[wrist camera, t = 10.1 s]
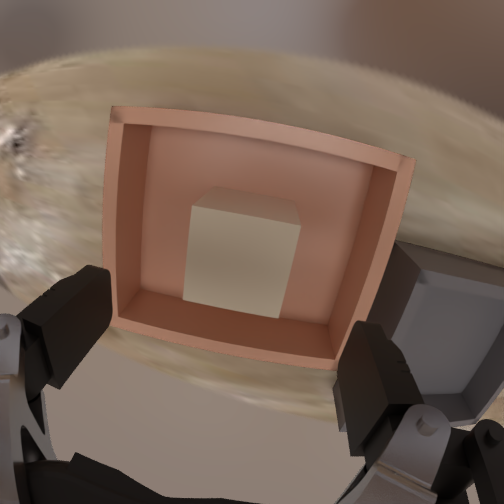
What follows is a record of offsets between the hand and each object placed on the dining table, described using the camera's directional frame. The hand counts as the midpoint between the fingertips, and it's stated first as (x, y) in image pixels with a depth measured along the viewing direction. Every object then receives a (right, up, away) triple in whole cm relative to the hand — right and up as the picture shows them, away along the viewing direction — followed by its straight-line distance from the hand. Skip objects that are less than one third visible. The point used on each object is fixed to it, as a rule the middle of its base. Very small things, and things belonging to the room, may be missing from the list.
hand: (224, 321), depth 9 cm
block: (+1, +3, +8) cm, 9 cm away
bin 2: (+15, -4, +11) cm, 19 cm away
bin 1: (+1, +4, +9) cm, 10 cm away
